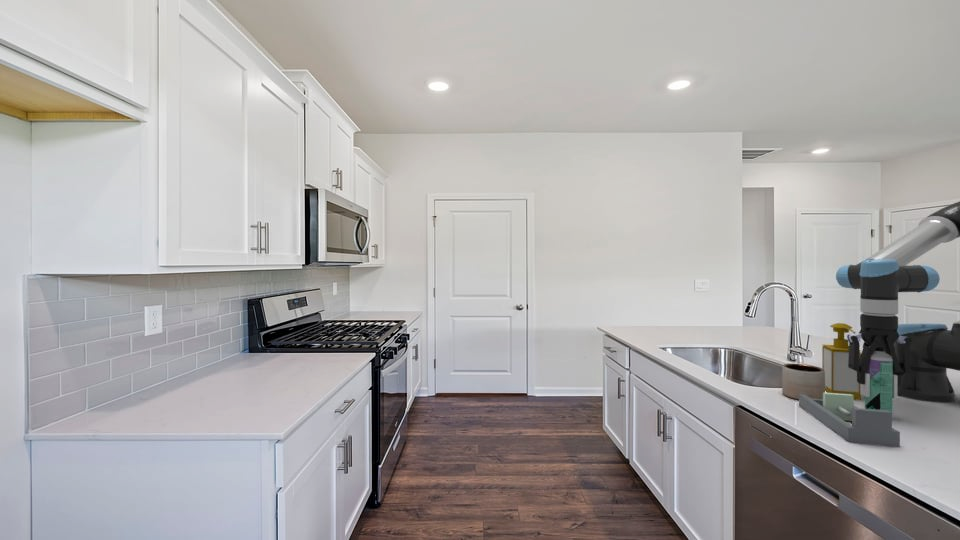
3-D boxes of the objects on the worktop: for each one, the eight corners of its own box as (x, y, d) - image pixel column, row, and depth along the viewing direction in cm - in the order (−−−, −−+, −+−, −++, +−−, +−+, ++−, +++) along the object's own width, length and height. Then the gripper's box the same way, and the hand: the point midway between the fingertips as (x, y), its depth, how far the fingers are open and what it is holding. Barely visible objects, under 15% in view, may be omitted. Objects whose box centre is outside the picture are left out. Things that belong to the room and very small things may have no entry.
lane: (838, 408, 118) (838, 381, 118) (899, 446, 94) (899, 413, 94) (799, 405, 121) (799, 379, 121) (848, 441, 97) (848, 409, 97)
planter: (815, 393, 132) (815, 364, 132) (832, 404, 122) (832, 373, 122) (776, 390, 136) (776, 362, 135) (790, 400, 125) (789, 370, 125)
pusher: (850, 419, 110) (850, 394, 109) (862, 427, 105) (862, 400, 104) (822, 417, 111) (822, 392, 111) (833, 424, 106) (833, 398, 106)
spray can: (880, 413, 114) (880, 344, 114) (898, 420, 109) (898, 348, 108) (859, 412, 115) (859, 344, 114) (876, 420, 109) (876, 348, 109)
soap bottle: (839, 403, 123) (839, 327, 122) (822, 390, 134) (822, 321, 134) (869, 405, 120) (870, 328, 119) (849, 392, 132) (849, 322, 131)
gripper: (910, 313, 112) (910, 394, 113) (831, 311, 117) (831, 389, 118) (931, 316, 105) (931, 403, 105) (846, 315, 110) (846, 398, 111)
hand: (878, 396), depth 112 cm, fingers closed on spray can, 5 cm apart
